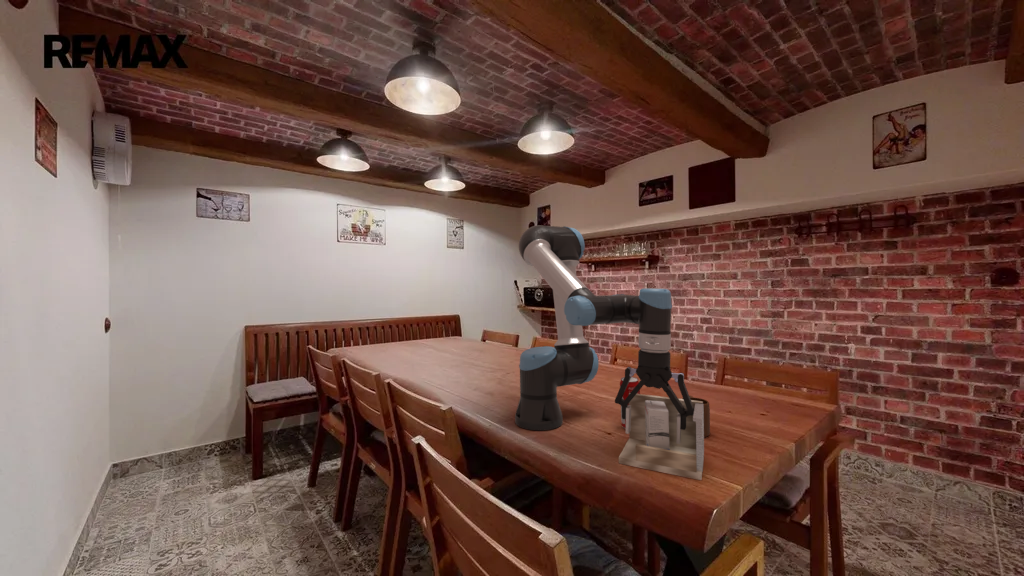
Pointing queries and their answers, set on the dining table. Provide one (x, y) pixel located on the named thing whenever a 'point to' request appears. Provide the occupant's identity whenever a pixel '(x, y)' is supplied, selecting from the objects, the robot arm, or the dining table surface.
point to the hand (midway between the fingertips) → (652, 436)
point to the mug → (705, 415)
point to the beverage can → (630, 387)
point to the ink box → (657, 424)
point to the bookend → (699, 435)
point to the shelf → (658, 459)
